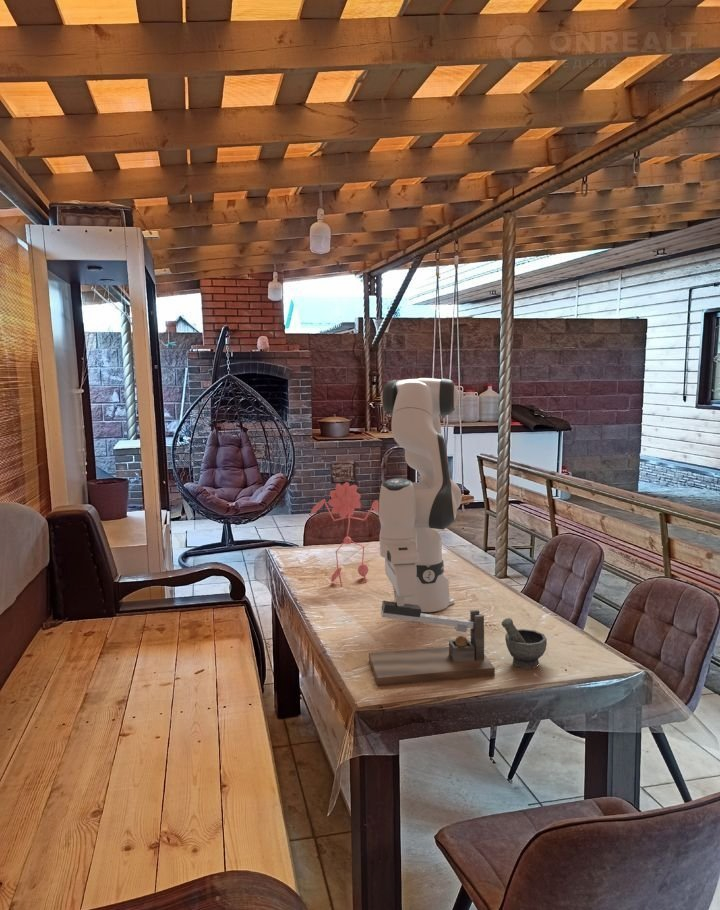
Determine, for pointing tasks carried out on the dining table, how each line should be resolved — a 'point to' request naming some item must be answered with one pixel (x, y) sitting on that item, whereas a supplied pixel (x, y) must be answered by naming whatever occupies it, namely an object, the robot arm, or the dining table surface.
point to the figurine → (345, 504)
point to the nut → (461, 641)
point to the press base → (435, 661)
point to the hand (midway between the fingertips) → (399, 604)
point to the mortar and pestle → (524, 645)
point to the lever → (423, 616)
